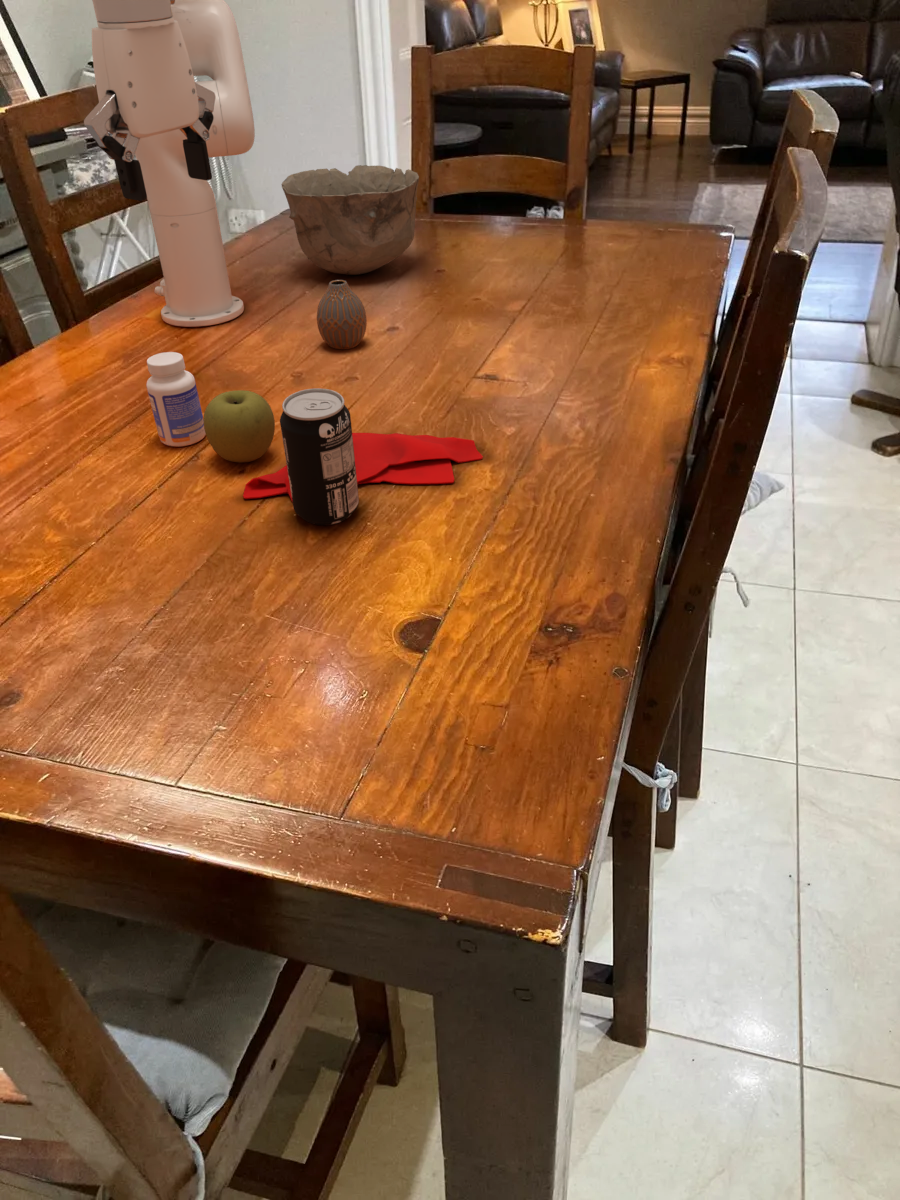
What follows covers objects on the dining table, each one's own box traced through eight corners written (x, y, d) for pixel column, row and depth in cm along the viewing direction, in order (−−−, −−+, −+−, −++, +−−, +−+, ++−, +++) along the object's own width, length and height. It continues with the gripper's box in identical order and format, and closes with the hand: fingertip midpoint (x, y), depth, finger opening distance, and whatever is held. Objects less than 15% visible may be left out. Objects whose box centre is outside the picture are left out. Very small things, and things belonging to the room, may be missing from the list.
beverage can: (295, 493, 97) (279, 388, 89) (359, 489, 97) (348, 383, 89) (292, 530, 92) (275, 422, 84) (360, 526, 92) (348, 417, 84)
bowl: (445, 262, 164) (442, 169, 155) (372, 298, 149) (363, 198, 140) (346, 247, 173) (337, 159, 165) (268, 280, 159) (254, 185, 150)
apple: (222, 479, 101) (210, 418, 97) (202, 451, 107) (190, 392, 102) (289, 462, 103) (279, 402, 99) (266, 435, 109) (256, 377, 105)
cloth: (470, 426, 109) (470, 408, 108) (492, 482, 98) (492, 462, 97) (245, 448, 107) (242, 430, 105) (242, 508, 96) (238, 489, 94)
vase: (361, 354, 129) (355, 290, 124) (313, 352, 130) (305, 289, 125) (374, 336, 135) (368, 275, 130) (328, 335, 136) (321, 273, 131)
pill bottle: (215, 430, 111) (199, 351, 105) (190, 450, 107) (173, 369, 101) (176, 425, 112) (158, 347, 107) (150, 445, 108) (130, 364, 103)
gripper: (171, -2, 101) (201, 168, 112) (37, 16, 90) (84, 203, 101) (221, 0, 98) (247, 175, 108) (88, 19, 87) (131, 212, 97)
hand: (169, 188), depth 104 cm, fingers open, 9 cm apart
